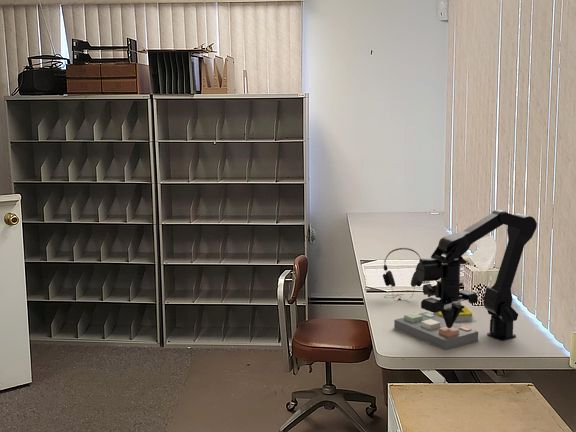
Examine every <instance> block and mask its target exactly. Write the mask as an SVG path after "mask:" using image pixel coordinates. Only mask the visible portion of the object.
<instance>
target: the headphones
mask: <svg viewBox="0 0 576 432" xmlns="http://www.w3.org/2000/svg"><path fill="white" fill-rule="evenodd" d="M399 250H407V251H411V252H413V253H415V254H416V255H417V256H418V257H419V259H422V258H421V257H420V254H419V253H418V252H417V251H415V250H414V249H412V248H409V247H398V248H394V249H393V250H391V251H389V252H388V254H387V256H385V259H384V260H383V261H384V265H383V270H384V271H385V273H383V274H382V278H383V282H384V284H385V286H386V287H389V286H390V287H391V288H393V287H395V286H396V282H395V278H394V275H393V272H392V271H391V270H388V266H387V264H386V261H387V258H388V257H389V255H390V254H391V253H393V252H395V251H399ZM422 285H423V282H420V281H419V280H418V279H417V276H416V270H415V271H414V272H413V274H412V277H411V281H410V286H411V287H412V288H413V287H414V288H413V292H412V293H414V292H415V289H416V287H421V286H422ZM393 291H394V290H391V293H392V294H394V292H393ZM401 295H402V296H404V294H402V293H401V294H399V293H398V294H396V297H397V296H399V298H398V299H397V301H407V300H406V299H403V300H402V299H401V297H400V296H401ZM413 295H414V294H412V295H411V297H413ZM388 296H389V294H387V295H385V296H383V297H384V298H385V299H387V297H388ZM394 298H395V296H392V297H391V299H392V300H394V302H396V300H395V299H394Z"/></svg>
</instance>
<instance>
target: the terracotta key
mask: <svg viewBox="0 0 576 432" xmlns="http://www.w3.org/2000/svg"><path fill="white" fill-rule="evenodd" d="M439 334H441V335H444V336H446V337H453V336H456V335H459V330H458V329H456V328H453V327H451V328H447V327H443V328H439Z"/></svg>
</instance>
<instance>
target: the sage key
mask: <svg viewBox="0 0 576 432" xmlns="http://www.w3.org/2000/svg"><path fill="white" fill-rule="evenodd" d="M419 314H420V313H415V312H411V313H407V314H403V318H404V320H406V321H409V322H411V323H416V322H420V321H423V316H422V315H419Z"/></svg>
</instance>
